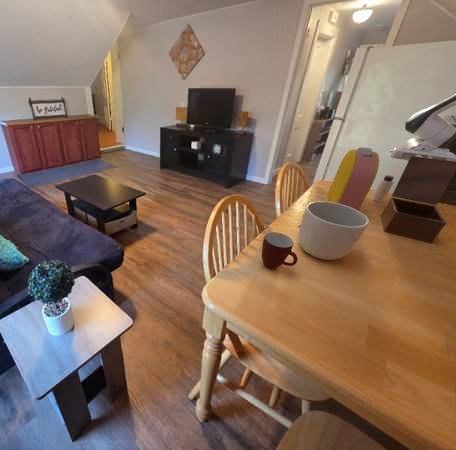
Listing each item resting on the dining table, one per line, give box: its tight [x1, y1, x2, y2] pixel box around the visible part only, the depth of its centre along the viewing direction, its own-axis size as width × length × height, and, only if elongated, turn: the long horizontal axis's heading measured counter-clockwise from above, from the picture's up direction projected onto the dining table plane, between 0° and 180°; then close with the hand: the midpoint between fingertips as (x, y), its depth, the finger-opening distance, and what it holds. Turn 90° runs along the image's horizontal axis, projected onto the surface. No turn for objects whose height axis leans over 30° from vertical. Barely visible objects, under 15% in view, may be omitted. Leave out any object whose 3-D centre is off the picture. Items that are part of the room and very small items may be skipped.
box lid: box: [391, 156, 456, 206], centre depth 96 cm, size 16×14×1 cm
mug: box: [261, 231, 299, 270], centre depth 75 cm, size 11×8×10 cm
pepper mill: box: [370, 174, 395, 203], centre depth 117 cm, size 5×5×12 cm
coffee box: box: [380, 196, 447, 244], centre depth 96 cm, size 16×14×9 cm
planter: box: [298, 200, 370, 261], centre depth 81 cm, size 17×17×15 cm
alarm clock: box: [327, 146, 380, 211], centre depth 108 cm, size 21×9×26 cm, turn 154°
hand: (425, 160), depth 101 cm, fingers closed
